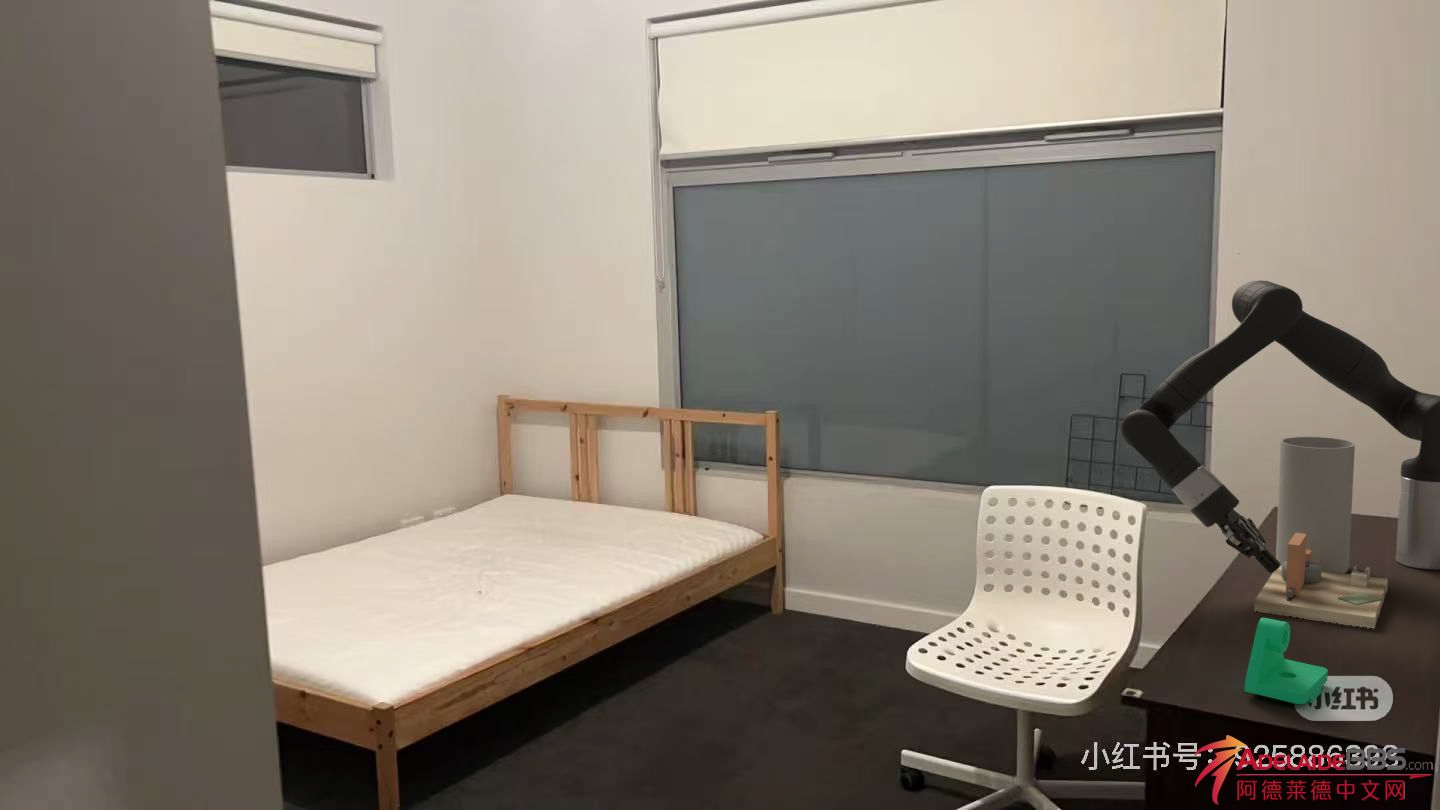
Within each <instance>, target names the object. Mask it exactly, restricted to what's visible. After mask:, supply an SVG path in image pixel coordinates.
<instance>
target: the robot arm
mask: <svg viewBox="0 0 1440 810" xmlns="http://www.w3.org/2000/svg"><path fill="white" fill-rule="evenodd" d="M1303 307H1304V306H1303V302H1302V299H1301V297H1300V295H1299V294H1298V293H1297V292H1295V291H1294V290H1292V289H1291V288H1288V287H1286V286H1284V285H1280V284H1277V283H1274V282H1272V281H1268V280H1262V279H1261V280H1253V281H1248V282H1246V283H1243V284H1242V285H1241V286H1239V287H1238V288H1237V289H1236V290H1235V292H1234V293H1233V295H1232V299H1231V309H1232V312H1233V315H1234V317H1235V318H1236V320H1237V321H1238V322H1239V323H1240V324H1239V325H1238V326H1237V327H1236V328H1235V329H1234V330H1233V331H1232V332H1231V333H1229V334H1228V335H1227V336H1225V337H1224V338H1223V339H1221V340H1220V341H1218V342H1217V343H1215V344H1214V345H1211V346H1210V347H1208V348H1206V349H1204V350H1202V351H1201V352H1199V353H1196V354H1195V355H1193V356H1191V357H1190V358H1189V359H1187V360H1186V361H1184V362H1183V363H1181V364H1180V365H1179V366H1178V367H1177V368H1176V369H1175V370H1174V371H1173V372H1171V373H1170V375H1169V376H1167V377H1166V379H1165V380H1163V381H1162V382H1161V383H1160V384H1159V385H1158V387H1157V388H1156V389H1155V391H1154V393H1153V394H1152V395H1151V396H1150V397H1149V398H1148V399H1147V400H1145V401H1144V403H1143V404H1141V405H1140V406H1139V407H1138V408H1137V409H1136V410H1133V411H1130V412H1129V413H1128V414H1126V416H1125V417H1124V418H1123V420H1122V422H1121V425H1120V430H1121V437H1122V439H1123V440H1124V441H1125V443H1126V444H1127V445H1128V446H1130V447H1131V448H1134V450H1135V451H1137V453H1138V454H1140V455H1141V456H1142V458H1144V459H1145V460H1146V461H1147V462H1148V464H1150V466H1152V468H1153V470H1154V471H1155V473H1156V474H1157V475H1158V476H1159V477H1160V479H1161V481H1163V482H1164V483H1165V484H1166V485H1167V486H1168V488H1170V489H1171V491H1173V493H1174V494H1175V496H1177V498H1178V499H1179V500H1180V502H1181V503H1182V504H1183V505H1184V506H1185V507H1186V508H1187V509H1188V510H1189V511H1190V512H1191V513H1192V514H1193V515H1194V517H1196V518H1197V519H1198V520H1199V522H1201V524H1202V525H1203V526H1204V527H1206V528H1210V527H1212V526H1214V525H1217V526H1218V527H1219V529H1220V531H1221V533H1222V535H1223V536H1224V537H1226V539H1225V543H1226V544H1227V545H1228V546H1230V547H1232V548H1233V549H1235V550H1236V551H1237V552H1239V553H1241V554H1242V555H1243V556H1246V558H1253V559H1256V561H1257V562H1258V563H1259V564H1260V565H1261V566H1262V567H1264V569H1265V570H1266V571H1267V572H1268V573H1270V574H1273V572H1274V571H1276V570H1277V569H1278V568H1279V567H1280V565H1281V564H1280V562H1279V561H1278V560H1277V559H1276V556H1274V555H1273V554H1272V553H1271V552H1270V551H1269V550H1268V549H1267V548H1268V547H1267V545H1266V540H1265V539H1264V537H1263V536H1262V534H1261V533H1260V530H1259V529H1258V528H1257V526H1256V524H1255V523H1254V522H1253V519H1251V518H1250V517H1249V518H1246V517H1245V516H1244V515H1242V514H1240V513H1239V512H1237V511H1236V510H1235V508H1236V507H1237V506H1238V505H1239V504H1240V499H1238V497H1236V496H1235V495H1234V494H1233V492H1231V491H1230V490H1229V489H1228V487H1226V485H1225V484H1224V483H1223V482H1222V481H1220V480H1219V478H1218V477H1217V476H1216V475H1215V474H1214V473H1212V472H1211V471H1210V470H1209V469H1207V468H1206V466H1204V465H1203V464H1202V463H1201V462H1200V460H1198V459H1197V457H1195V456H1194V455H1193V454H1192V453H1191V452H1190V451H1189V450H1188V449H1187V448H1185V447H1184V446H1183V445H1182V444H1181V443H1180V442H1179V441H1178V440H1177V439H1178V438H1176V437H1175V435H1173V434H1172V432H1171V431H1170V428H1172V426H1174V425H1175V424H1176V422H1177V421H1178V420H1179V419H1180V418H1182V417H1183V416H1184V415H1185V414H1186V413H1188V412H1189V411H1190V410H1191V409H1193V407H1195V406H1196V405H1197V404H1198V403H1199V402H1200V401H1201V400H1202V399H1203V398H1204V397H1205V396H1207V394H1208V393H1209V392H1210V391H1211V390H1212V389H1213V388H1215V387H1216V386H1217V385H1218V384H1219V383H1220V382H1221V381H1222V380H1223V379H1225V378H1226V377H1228V376H1229V375H1230V374H1232V373H1233V371H1235V370H1236V369H1238V368H1239V367H1240V366H1241V365H1244V363H1246V362H1248V360H1250V359H1252V358H1253V357H1254V356H1255V355H1257V354H1258V353H1260V352H1261V351H1263V350H1264V349H1266V347H1268V346H1270V345H1272V343H1274V342H1275V343H1277V344H1279V345H1281V346H1282V347H1284V348H1285V350H1287V351H1288V352H1290V354H1292V355H1293V357H1294V356H1295V358H1296V359H1298V360H1299V361H1301V362H1302V363H1303V364H1304V365H1306V366H1307V367H1308V368H1309V369H1310V370H1312V371H1313V372H1314V373H1316V374H1318V376H1320V377H1322V379H1324V380H1326V381H1327V382H1328V383H1330V384H1331V385H1333V386H1334V387H1336V388H1337V389H1339V390H1341V391H1342V392H1344V393H1346V394H1348V396H1350V397H1352V398H1354V399H1355V400H1356V401H1359V402H1360V403H1362V404H1363V405H1366V406H1368V407H1369V408H1370V409H1371V410H1373V411H1374V412H1375V413H1377V414H1378V415H1379V417H1381V418H1383V419H1384V420H1385V421H1386V422H1387V423H1388V424H1390V426H1392V428H1393V429H1395V430H1396V431H1397V432H1399V433H1400V434H1401V435H1403V436H1404V437H1406V438H1409V439H1411V440H1415V441H1419V442H1420V447H1419V451H1418V452H1419V453H1418V455H1416V456H1415V457H1411V458H1408V459H1405V460H1403V461H1402V463H1401V466H1400V478H1399V481H1400V482H1399V498H1398V499H1399V500H1398V514H1397V515H1398V517H1397V533H1396V536H1397V537H1396V555H1395V561H1396V562H1397V563H1399V564H1401V565H1404V566H1406V567H1407V566H1408V567H1410V568H1415V569H1423V570H1440V395H1438V394H1433V393H1432V394H1431V393H1426V392H1422V391H1419V390H1416V389H1414V388H1412V387H1411V386H1409V385H1407V384H1405V383H1404V382H1401V381H1400V380H1399V379H1397V378H1396V377H1395V376H1393V375H1392V373H1391V371H1390V370H1389V368H1388V365H1387V363H1386V361H1385V359H1383V357H1382V356H1381V355H1380V354H1379V353H1378V352H1377V351H1375V350H1374V349H1373V348H1372V347H1370V346H1369V345H1367V344H1365V343H1364V342H1363V341H1361V339H1359V338H1357V337H1355V336H1354V335H1351V334H1350V333H1348V332H1346V331H1344V330H1342V329H1340V328H1339V327H1336V326H1335V325H1332V324H1330V323H1327V322H1326V321H1323V320H1322V319H1318V318H1316V317H1315V316H1313V315H1311V314H1309V313H1308V312H1305V311H1304V310H1303Z"/></svg>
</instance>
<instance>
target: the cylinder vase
mask: <svg viewBox="0 0 1440 810" xmlns="http://www.w3.org/2000/svg"><path fill="white" fill-rule="evenodd" d="M1279 444H1280V445H1279V446H1280V447H1279V449H1280V450H1279V472H1278V473H1279V476H1278V497H1277V502H1278V503H1277V523H1276V545H1275V547H1276V551H1275V558H1276V559H1277V560H1278V561H1279V562H1280V564H1281V565H1282V562H1284V561H1287V552H1288V543H1289V541H1290V540H1291V539H1292V537H1293V536H1294V534H1295V533H1303V534H1307V539H1306V549H1307V550H1312V561H1311V562H1313V563H1316V564H1319V565H1321V567H1322V570H1321V571H1329V572H1337V573H1345V574H1347V572H1348V570H1349V568H1350V550H1351V532H1352V531H1351V529H1352V510H1353V508H1352V507H1353V494H1354V493H1353V491H1354V490H1353V489H1354V488H1353V487H1354V470H1355V452H1356V451H1355V450H1356V444H1355V443H1354V442H1353V441H1350V440H1346V439H1342V438H1333V437H1323V436H1293V437H1286V438H1282V439H1280V443H1279Z"/></svg>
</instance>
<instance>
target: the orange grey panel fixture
mask: <svg viewBox="0 0 1440 810" xmlns="http://www.w3.org/2000/svg"><path fill="white" fill-rule="evenodd" d="M1306 539H1307V534H1303V533H1295V534H1294V536H1293V537H1292V539H1291V540H1290V541H1289V543H1288V552H1287V561H1284V562H1282V575H1281V576H1282V578H1284V579H1286V594H1287V597H1291V598H1292V597H1293V595H1298V593H1299V591H1300V590H1301V588H1302V586H1303V584H1304V583H1317V582H1320V581H1321V570H1322V567H1321V565H1319V564H1316V563H1313V562H1311V561H1312V550H1307V549H1306Z"/></svg>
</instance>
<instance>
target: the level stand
mask: <svg viewBox="0 0 1440 810" xmlns="http://www.w3.org/2000/svg"><path fill="white" fill-rule="evenodd" d="M1370 573H1371V567H1370V566H1369V567H1368V566H1367V565H1366V563H1364V562H1360V561H1359V562H1356V564H1355V566H1354V567H1353V569H1352V571H1351V573H1337V572H1329V571H1321V581H1320V582H1317V583H1304V584H1303V586H1302V588H1301V590H1300V591H1299V593H1298V595H1293V597H1292V598H1291V597H1287V594H1286V579H1284V578H1282V576H1281V575H1282V565H1280V567H1279V568H1278V569H1277V570H1276V571H1274V572H1273V573H1271V575H1270V577H1269V578H1268V580H1267V581H1266V582H1265V585H1264V586H1263V587H1262V589H1261V590H1260V591H1259V593H1258V594H1257V596H1256V598H1255V599H1254V606H1253V607H1254V609H1253V611H1254V612H1256V611H1258V613H1263V614H1264V613H1265V614H1269V613H1270V614H1271V613H1272V614H1271V615H1276V614H1277V615H1278V616H1283V615H1284V616H1283V617H1289V616H1292V617H1291V618H1296V617H1298V619H1303V618H1304V620H1310V621H1315V622H1316V621H1317V622H1322V621H1323V622H1324V623H1329V622H1331V623H1330V624H1336V623H1338V624H1337V625H1342V624H1343V625H1344V626H1349V625H1350V626H1351V625H1352V626H1351V627H1356V626H1358V628H1362V627H1367V628H1366V629H1369V628H1373V629H1372V630H1375V628H1376V624H1377V621H1378V619H1379V617H1380V613H1381V610H1382V607H1383V603H1384V601H1385V597H1386V595H1387V591H1388V586H1389V585H1388V583H1389V581H1388V580H1389V579H1388V578H1381V577H1375V576H1370ZM1277 615H1276V616H1277ZM1343 625H1342V626H1343ZM1359 626H1360V627H1359Z"/></svg>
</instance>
